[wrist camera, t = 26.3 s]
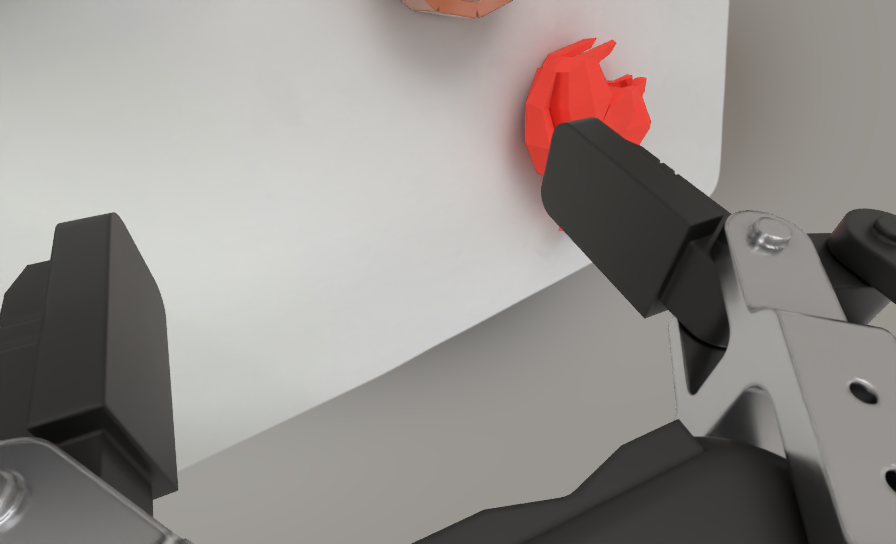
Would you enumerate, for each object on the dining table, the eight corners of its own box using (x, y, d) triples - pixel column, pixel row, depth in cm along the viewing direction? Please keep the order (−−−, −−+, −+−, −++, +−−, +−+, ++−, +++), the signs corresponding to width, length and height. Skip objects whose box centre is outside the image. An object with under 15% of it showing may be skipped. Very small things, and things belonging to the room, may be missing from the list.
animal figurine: (533, 235, 47) (565, 257, 43) (495, 78, 38) (530, 88, 34) (631, 181, 49) (670, 197, 45) (615, 21, 40) (662, 24, 36)
